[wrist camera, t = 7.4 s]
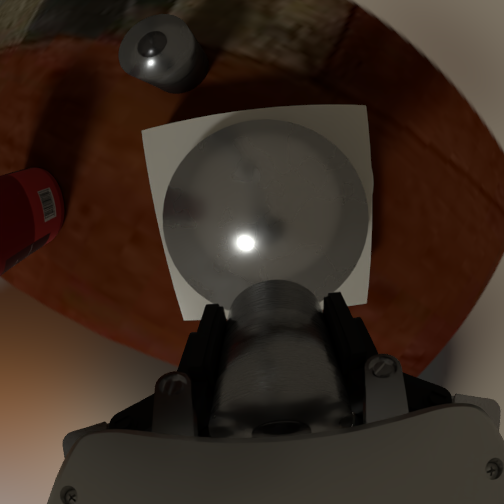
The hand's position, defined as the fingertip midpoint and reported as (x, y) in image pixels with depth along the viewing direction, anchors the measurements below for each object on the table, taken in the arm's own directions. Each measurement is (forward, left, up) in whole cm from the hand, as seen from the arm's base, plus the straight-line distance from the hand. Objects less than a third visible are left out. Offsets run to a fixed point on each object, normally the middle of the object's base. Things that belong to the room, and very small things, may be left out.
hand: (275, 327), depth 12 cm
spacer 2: (0, 0, -1) cm, 1 cm away
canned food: (-7, -22, -11) cm, 26 cm away
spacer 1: (-15, -5, -11) cm, 19 cm away
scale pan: (-3, 0, -6) cm, 7 cm away
